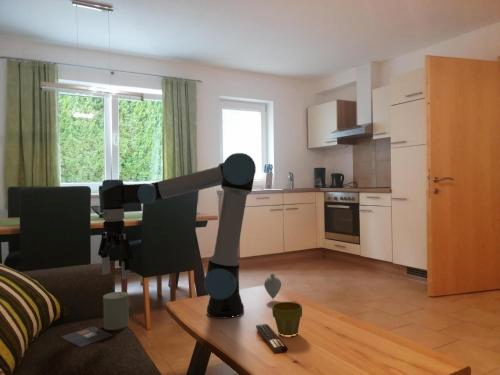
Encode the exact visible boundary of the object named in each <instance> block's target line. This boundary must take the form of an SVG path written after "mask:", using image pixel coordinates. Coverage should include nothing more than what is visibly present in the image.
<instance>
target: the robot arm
mask: <svg viewBox="0 0 500 375" xmlns="http://www.w3.org/2000/svg"><path fill="white" fill-rule="evenodd" d="M256 169H257V167H256V163H255V160H254V159H253V158H252V157H251V156H250V155H249V154H247V153H244V152H235V153H232V154H230V155H229V156H227V158H226V159H225V160H224V162H221V163H219V164H218V166H215V167H211V168H208V169H203V170H200V171H195V172H191V173H187V174H182V175H178V176H175V177H172V178H168V179H163V180H159V181H155V182H151V183H150V182H149V183H133V184H132V183H131V184H130V183H129V184H125V183H124V181H123V179H105V180H103V181H102V183H101V186H102V187H101V189H102V190H101V196H102V215H103V216H102V219H103V220H104V221H103V222H102V224H103V226H102V227H103V231H104V232H101V239H100V244H99V247H98V252H97V255H98V256H100V258H101V271H102V272H101V275H103V276H105V275H110V273H111V269H110V252H111V250H112V248H113V246H114V247H115V248H116V249H117V251H118V253H119V255H120V256H121V279H122V280H127V279H131V272H130V268H131V265H130V264H131V262H130V261H131V260H134V255H133V251H132V248H131V245H130V241H129V238H128V236H129V235H128V233H123V231H124V230H125V220H124V219H125V207H124V206H125V205H139V204H140V205H147V204H153V203H154V202H155V203H156V202H158V201H161V200H164V199H169V198H172V197H177V196H180V195H185V194H189V193H193V192H197V191H202V190H205V189H209V188H213V187H218V186H220V187H221V189H222V190H223V198H222V204H221V208H220V210H221V211H220V216H219V223H218V229H217V235H216V239H215V246H214V252H213V255H211V256H210V257H209V259H208V264H207V268H206V275H205V276H204V278H203V287H204V290H205V293H206V294H207V295H208V296H209V300H208V303H207V306H206V313H208V314H209V315H211V316H214V317H213V318H215V317H231V318H233V317H232V316H236V317H238V316H237V315H239V316H241V315H242V314H241V313H243V314H244V311H245V308H244V307H245V306H244V303H243V302H242V298H241V294H240V263H241V262H239V258H238V251H239V246H240V240H241V239H240V238H241V234H242V226H243V221H244V217H245V216H244V215H245V211H246V210H245V209H246V202H247V197H248V196H249V194H250V193H252V191H253V187H254V186H253V185H254V180H255V175H256V172H257V171H256ZM208 314H207V315H208ZM240 314H241V315H240ZM209 315H208V316H209ZM211 316H210V317H211Z"/></svg>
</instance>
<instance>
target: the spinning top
mask: <svg viewBox="0 0 500 375" xmlns="http://www.w3.org/2000/svg"><path fill="white" fill-rule="evenodd" d="M263 285H264V288H265V290H266V292H267V294H268V295H269V296H270V297H271V299H275V298H276V296H277V295H278V294H279V292H280V290H281V289H282V288H281V287H282V282H281V280H280V278H279V277H277V276H275V273H274V272H273V273H270V276H269V277H267V278H266V279H265V280H264V284H263Z"/></svg>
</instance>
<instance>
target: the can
mask: <svg viewBox="0 0 500 375" xmlns="http://www.w3.org/2000/svg"><path fill="white" fill-rule="evenodd" d="M102 303H103V306H102V307H103V326H102V327H103V329H104V330H106V331H107V330H108V331H110V330H111V331H113V330H114V331H116V330H122V329H125V328H126V327H128V326H129V325H130V318H129V292H127V291H115V292H114V291H113V292H108V293H107V294H104V295H103V296H102Z"/></svg>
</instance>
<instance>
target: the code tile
mask: <svg viewBox="0 0 500 375" xmlns="http://www.w3.org/2000/svg"><path fill="white" fill-rule="evenodd" d="M111 337H114V334H112V333H110V332H107V331H105V330H103V329H100V328H98V327H97V326H96V327H95V326H90V327H87V328H84V329H81V330H78V331H74V332H72V333H69V334H65V335H62V336H60V338H61V339H63V340H66V341H67V342H69V343H71V344H73V345H75V346H76V347H79V348H81V347H82V348H83V347H85V346H89V345H91V344H93V343H96V342H99V341H101V340H104V339H108V338H111Z"/></svg>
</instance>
